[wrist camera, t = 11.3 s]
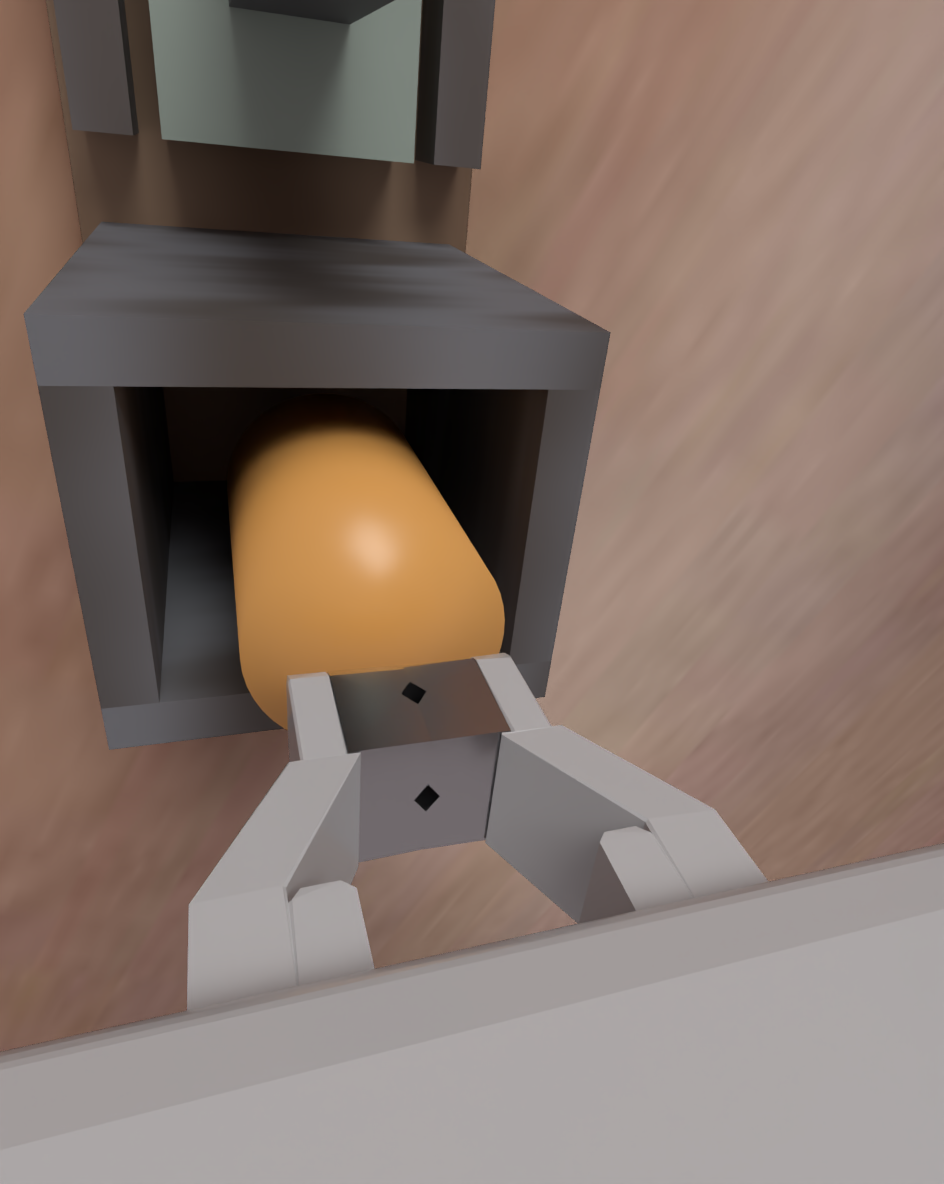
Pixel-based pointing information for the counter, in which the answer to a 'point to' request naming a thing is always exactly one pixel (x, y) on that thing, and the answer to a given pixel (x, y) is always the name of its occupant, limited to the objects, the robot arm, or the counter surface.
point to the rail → (284, 359)
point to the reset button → (346, 551)
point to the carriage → (290, 74)
